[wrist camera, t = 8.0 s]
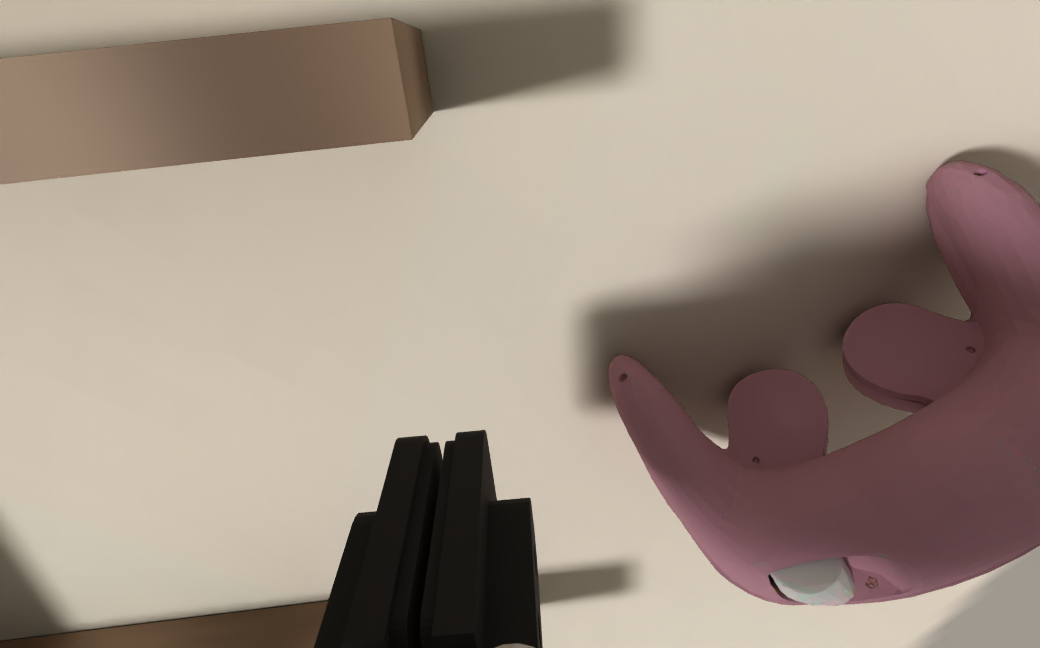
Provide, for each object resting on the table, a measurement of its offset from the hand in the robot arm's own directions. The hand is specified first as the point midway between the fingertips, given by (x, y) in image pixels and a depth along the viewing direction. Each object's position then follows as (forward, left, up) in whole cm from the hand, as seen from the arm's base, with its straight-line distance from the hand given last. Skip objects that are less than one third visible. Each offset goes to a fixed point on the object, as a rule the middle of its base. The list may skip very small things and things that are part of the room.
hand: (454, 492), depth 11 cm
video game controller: (-9, 0, -4) cm, 10 cm away
